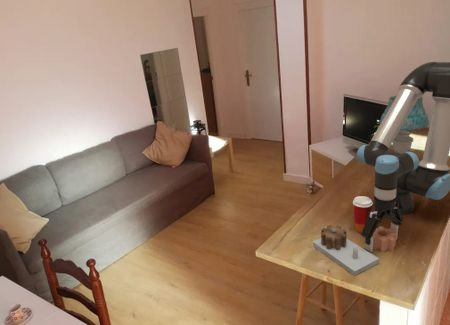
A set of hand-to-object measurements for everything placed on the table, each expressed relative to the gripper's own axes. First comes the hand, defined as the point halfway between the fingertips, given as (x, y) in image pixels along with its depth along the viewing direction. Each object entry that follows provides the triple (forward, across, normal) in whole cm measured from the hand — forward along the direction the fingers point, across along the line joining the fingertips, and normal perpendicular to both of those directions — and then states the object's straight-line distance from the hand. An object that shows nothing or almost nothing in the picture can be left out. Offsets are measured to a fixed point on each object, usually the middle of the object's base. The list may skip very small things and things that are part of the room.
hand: (381, 244), depth 135 cm
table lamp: (0, -66, -43) cm, 79 cm away
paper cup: (0, -2, -12) cm, 12 cm away
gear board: (0, +16, -4) cm, 16 cm away
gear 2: (0, 0, 0) cm, 0 cm away
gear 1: (-2, +16, -10) cm, 18 cm away
